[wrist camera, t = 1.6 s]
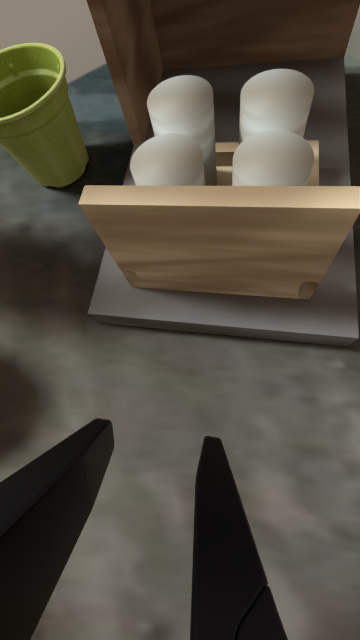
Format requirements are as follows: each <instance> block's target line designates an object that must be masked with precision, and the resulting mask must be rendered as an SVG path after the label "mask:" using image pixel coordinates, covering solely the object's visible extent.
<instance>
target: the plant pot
mask: <svg viewBox="0 0 360 640" xmlns="http://www.w3.org/2000/svg"><path fill="white" fill-rule="evenodd" d="M65 74H66V65H65V61H64V59H63V57H62V55H61V53H60V52H59V51H58V50H57V49H55V48H54V47H52V46H49V45H46V44H41V43H25V44H19V45H15V46H11V47H8V48H5V49H3V50H1V51H0V144H1V145H2V146H3V147H4V148H5V149H6V150H7V151H8V152H9V153H10V154H11V155H12V156H13V157H14V158H15V159H16V160H17V161H18V162H19V163H20V164H21V165H22V166H23V167H24V168H25V170H26V171H27V172H28V173H29V174H30V175H31V176H32V177H33V178H34V179H35V180H36V181H37V182H38V183H40V184H41V185H42V186H45V187H47V186H53V187H58V188H59V187H64V186H67V185H69V184H71V183H73V182H74V181H76V180H77V179H78V178H80V177H81V176H82V174H83V173H84V171H85V167H86V164H87V162H88V161H89V158H88V154H87V151H86V148H85V145H84V142H83V139H82V136H81V133H80V130H79V127H78V124H77V121H76V118H75V115H74V111H73V108H72V105H71V102H70V99H69V95H68V86H67V81H66V78H65Z"/></svg>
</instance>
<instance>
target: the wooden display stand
mask: <svg viewBox="0 0 360 640" xmlns="http://www.w3.org/2000/svg"><path fill="white" fill-rule="evenodd" d="M87 3H88V6H89V9H90V12H91V15H92V18H93V21H94V25H95V28H96V31H97V34H98V37H99V40H100V43H101V46H102V49H103V52H104V56H105V59H106V62H107V65H108V68H109V71H110V74H111V77H112V80H113V83H114V86H115V89H116V93H117V96H118V99H119V102H120V105H121V108H122V111H123V114H124V117H125V120H126V123H127V126H128V130H129V133H130V136H131V139H132V142H133V145H134V146H133V150H132V153H131V157H130V160H129V164H128V168H127V171H126V175H125V179H124V182H123V186H136V184H135V181H134V179H133V176H132V173H131V170H130V162H131V158H132V156H133V154H134V152H135V151H136V150H137V148H138V147H139V146H140V145H142V144H143V143H144V142H145V141H147V140H149V139H151V138H153V137H155V136H154V131H153V127H152V123H151V119H150V115H149V111H148V107H147V99H148V96H149V94H150V93H151V91H152V90H153V89H154V88H155V87H156V86H157V85H158V84H160V83H161V82H163V81H165V80H167V79H170V78H172V77H176V76H181V75H193V76H198V77H201V78H203V79H205V80H206V81H208V82H209V83H210V85H211V86H212V89H213V102H214V125H215V143H227V142H239V124H240V95H241V90H242V88H243V86H244V84H245V83H246V82H247V81H248V80H249V79H251V78H252V77H253V76H255V75H257V74H259V73H261V72H264V71H268V70H272V69H291V70H295V71H298V72H301V73H303V74H305V75H306V76H307V77H308V78H309V79H310V80H311V81H312V83H313V85H314V95H313V99H312V103H311V107H310V111H309V115H308V119H307V123H306V127H305V131H304V135H303V138H304V139H305V140H306V141H310V140H319V186H351V181H350V162H349V144H348V125H347V106H346V88H345V69H344V55H345V52H346V48H347V45H348V42H349V38H350V35H351V32H352V28H353V25H354V22H355V19H356V15H357V12H358V8H359V5H360V0H87ZM88 314H89V315H90V316H91V317H92V318H93V319H94V320H95V321H96V322H98V323H105V324H115V325H126V326H136V327H147V328H157V329H167V330H178V331H188V332H199V333H209V334H220V335H230V336H240V337H251V338H261V339H272V340H282V341H292V342H303V343H313V344H324V345H334V346H345V347H348V346H349V345H351V344H352V343H353V342H355V341H356V340H357V339H358V338H359V331H358V312H357V293H356V275H355V256H354V237H353V226H352V228H351V229H350V231H349V233H348V235H347V236H346V238H345V240H344V241H343V243H342V245H341V247H340V248H339V250H338V252H337V253H336V255H335V257H334V259H333V260H332V262H331V264H330V266H329V267H328V269H327V271H326V272H325V274H324V276H323V278H322V279H321V281H320V283H319V284H318V286H317V288H316V290H315V291H314V293H313V295H312V296H311V298H310V300H309V299H295V298H281V297H267V296H252V295H238V294H224V293H210V292H195V291H181V290H167V289H153V288H138V287H131V285H130V284H129V282H128V281H127V279H126V278H125V276H124V275H123V273H122V271H121V270H120V268H119V267H118V265H117V264H116V262H115V261H114V259H113V257H112V256H111V254H110V253H109V251H108V250H107V248H105V252H104V255H103V259H102V263H101V266H100V270H99V274H98V277H97V281H96V285H95V288H94V292H93V296H92V299H91V303H90V307H89V310H88Z"/></svg>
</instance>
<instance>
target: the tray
mask: <svg viewBox="0 0 360 640" xmlns="http://www.w3.org/2000/svg"><path fill="white" fill-rule="evenodd" d="M313 95H314V85H313V83H312V81H311V80H310V79H309V78H308V77H307V76H306V75H305V74H303V73H301V72H298V71H295V70H291V69H272V70H268V71H264V72H261V73H259V74H257V75H255V76H253V77H252V78H251V79H249V80H248V81H247V82H246V83H245V84H244V86H243V88H242V90H241V95H240V124H239V142H227V143H215V125H214V102H213V89H212V86H211V85H210V83H209V82H208V81H206V80H205V79H203V78H201V77H198V76H193V75H181V76H176V77H172V78H170V79H167V80H165V81H163V82H161V83H160V84H158V85H157V86H156V87H155V88H154V89H153V90H152V91H151V93H150V94H149V96H148V99H147V107H148V111H149V115H150V119H151V123H152V127H153V131H154V136H155V137H153V138H151V139H149V140H147V141H145V142H144V143H143V144H142V145H140V146H139V147H138V148H137V150H136V151H135V152H134V154H133V156H132V158H131V162H130V170H131V173H132V176H133V179H134V181H135V184H136V186H107V185H85V186H84V189H83V192H82V195H81V198H80V201H79V206H80V207H81V209H82V211H83V212H84V214H85V215H86V217H87V218H88V220H89V221H90V223H91V225H92V226H93V228H94V229H95V231H96V232H97V234H98V236H99V237H100V239H101V240H102V242H103V243H104V245H105V246H106V248H107V250H108V251H109V253H110V254H111V256H112V257H113V259H114V261H115V262H116V264H117V265H118V267H119V268H120V270H121V271H122V273H123V275H124V276H125V278H126V279H127V281H128V282H129V284H130V285H131V287H138V288H153V289H167V290H181V291H195V292H210V293H224V294H238V295H252V296H267V297H281V298H295V299H309V300H310V298H311V296H312V295H313V293H314V291H315V290H316V288H317V286H318V284H319V283H320V281H321V279H322V278H323V276H324V274H325V272H326V271H327V269H328V267H329V266H330V264H331V262H332V260H333V259H334V257H335V255H336V253H337V252H338V250H339V248H340V247H341V245H342V243H343V241H344V240H345V238H346V236H347V235H348V233H349V231H350V229H351V228H352V226H353V224H354V223H355V221H356V219H357V217H358V216H359V214H360V186H319V140H310V141H306V140H305V139H304V138H303V135H304V131H305V127H306V123H307V119H308V115H309V111H310V107H311V103H312V99H313Z"/></svg>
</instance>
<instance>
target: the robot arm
mask: <svg viewBox="0 0 360 640" xmlns="http://www.w3.org/2000/svg"><path fill="white" fill-rule="evenodd" d="M113 449H114V436H113V428H112V423H111V421H110V420H106V419H99V418H97V419H95V420H93V421H91V422H90V423H88V424H87V425H85V426H84V427H82V428H81V429H79V430H78V431H76V432H75V433H73V434H72V435H70V436H69V437H67V438H66V439H64V440H63V441H61V442H60V443H58V444H57V445H55V446H54V447H53V448H51V449H50V450H48V451H47V452H45V453H44V454H42V455H41V456H39V457H38V458H36V459H35V460H33V461H32V462H30V463H29V464H27V465H26V466H24V467H23V468H21V469H20V470H18V471H17V472H15V473H14V474H12V475H11V476H9V477H8V478H6V479H5V480H3V481H2V482H0V640H30V639H31V637H32V635H33V633H34V631H35V629H36V627H37V624H38V622H39V620H40V618H41V616H42V614H43V612H44V610H45V608H46V605H47V603H48V601H49V599H50V597H51V595H52V593H53V591H54V589H55V586H56V584H57V582H58V580H59V578H60V576H61V574H62V572H63V570H64V567H65V565H66V563H67V561H68V559H69V557H70V555H71V553H72V551H73V548H74V546H75V544H76V542H77V540H78V538H79V536H80V534H81V532H82V529H83V527H84V525H85V523H86V521H87V519H88V517H89V514H90V512H91V510H92V508H93V505H94V503H95V500H96V497H97V495H98V492H99V489H100V486H101V483H102V481H103V478H104V475H105V472H106V469H107V466H108V464H109V461H110V458H111V455H112V452H113ZM267 585H268V581H267V578H266V575H265V572H264V569H263V566H262V563H261V560H260V557H259V554H258V551H257V547H256V544H255V541H254V538H253V535H252V532H251V529H250V526H249V523H248V520H247V517H246V514H245V511H244V508H243V505H242V502H241V499H240V496H239V493H238V490H237V487H236V483H235V480H234V477H233V474H232V471H231V468H230V465H229V462H228V459H227V456H226V453H225V450H224V447H223V444H222V441H221V439H220V438H217V437H211V436H206V437H205V438H204V441H203V446H202V450H201V455H200V460H199V464H198V469H197V474H196V483H195V509H194V539H193V568H192V598H191V627H190V640H288V639H287V636H286V633H285V630H284V628H283V625H282V622H281V619H280V616H279V614H278V611H277V608H276V605H275V602H274V599H273V596H272V593H271V589H270V587H269V586H267Z"/></svg>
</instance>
